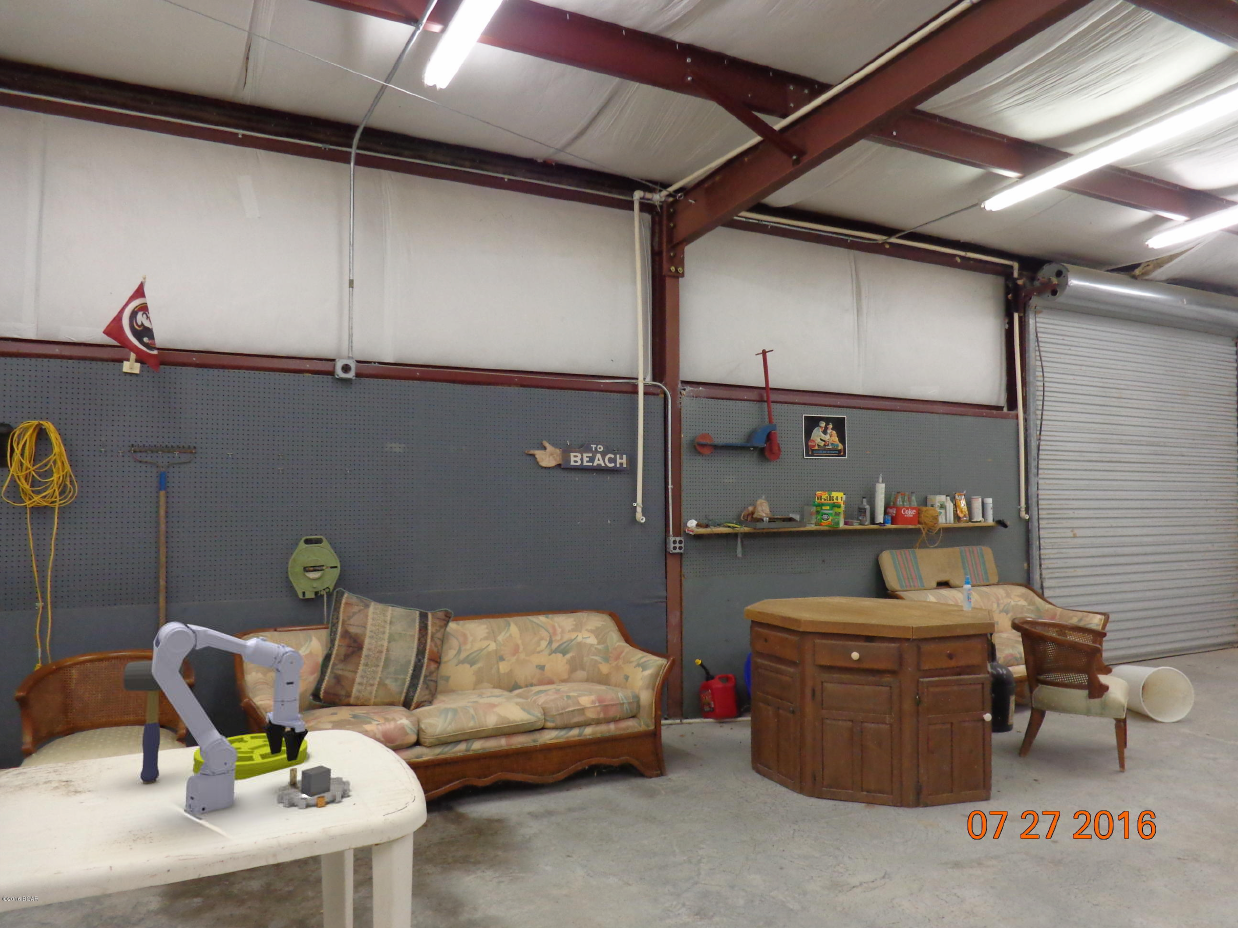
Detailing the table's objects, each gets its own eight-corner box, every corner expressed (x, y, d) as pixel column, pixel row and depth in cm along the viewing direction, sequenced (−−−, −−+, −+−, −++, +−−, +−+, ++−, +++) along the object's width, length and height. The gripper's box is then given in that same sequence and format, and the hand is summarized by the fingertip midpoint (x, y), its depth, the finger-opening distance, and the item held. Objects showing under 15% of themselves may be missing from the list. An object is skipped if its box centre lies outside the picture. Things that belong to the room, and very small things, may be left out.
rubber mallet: (180, 775, 207) (185, 656, 208) (173, 785, 199) (179, 661, 201) (125, 779, 203) (130, 658, 204) (116, 789, 196) (122, 664, 197)
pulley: (180, 760, 219) (181, 742, 219) (285, 742, 237) (286, 724, 237) (210, 789, 198) (211, 768, 198) (322, 766, 216) (323, 747, 217)
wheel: (337, 808, 183) (338, 783, 183) (265, 808, 182) (266, 783, 182) (357, 783, 199) (358, 761, 199) (291, 783, 198) (292, 760, 198)
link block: (310, 796, 184) (311, 774, 184) (300, 792, 186) (301, 770, 187) (330, 790, 188) (330, 768, 188) (320, 786, 190) (321, 765, 191)
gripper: (317, 701, 193) (315, 759, 192) (286, 691, 202) (284, 746, 201) (289, 706, 187) (287, 766, 186) (258, 696, 196) (256, 753, 196)
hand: (283, 756), depth 193 cm, fingers open, 7 cm apart
